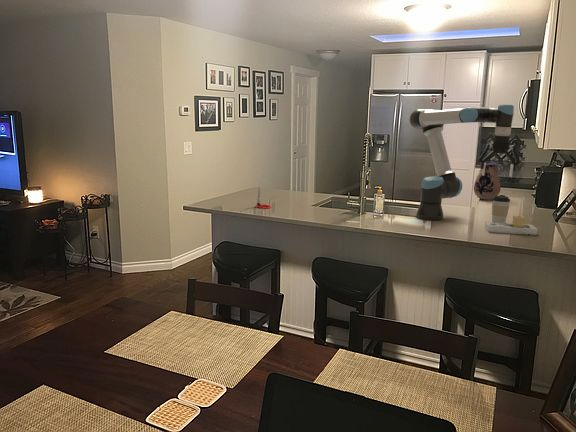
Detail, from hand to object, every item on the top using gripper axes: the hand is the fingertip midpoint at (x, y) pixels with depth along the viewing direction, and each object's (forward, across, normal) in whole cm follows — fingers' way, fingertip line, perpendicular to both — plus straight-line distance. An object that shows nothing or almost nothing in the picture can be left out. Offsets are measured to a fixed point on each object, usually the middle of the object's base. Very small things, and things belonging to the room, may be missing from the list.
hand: (496, 176), depth 253 cm
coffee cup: (+27, +6, +10) cm, 30 cm away
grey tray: (+27, +8, -10) cm, 30 cm away
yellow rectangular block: (+27, +12, -10) cm, 31 cm away
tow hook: (+30, -129, +15) cm, 134 cm away
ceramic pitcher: (+29, +15, +89) cm, 95 cm away
